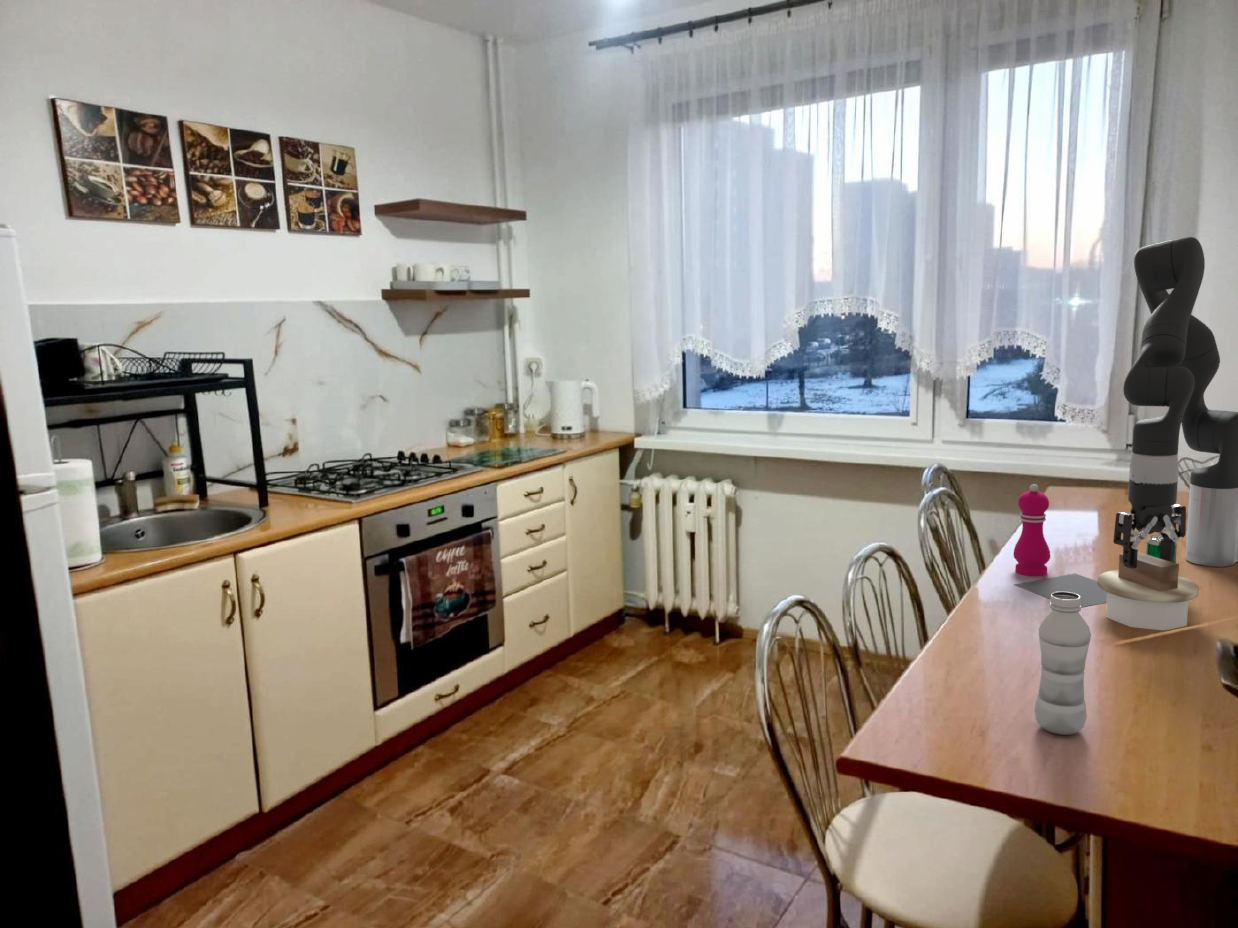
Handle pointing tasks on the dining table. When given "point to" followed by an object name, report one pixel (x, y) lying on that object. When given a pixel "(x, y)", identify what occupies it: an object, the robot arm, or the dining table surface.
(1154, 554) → the soda can
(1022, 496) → the pepper mill
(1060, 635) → the plastic bottle
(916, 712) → the dining table surface
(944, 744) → the dining table surface
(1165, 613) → the bowl
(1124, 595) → the lid
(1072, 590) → the mat
